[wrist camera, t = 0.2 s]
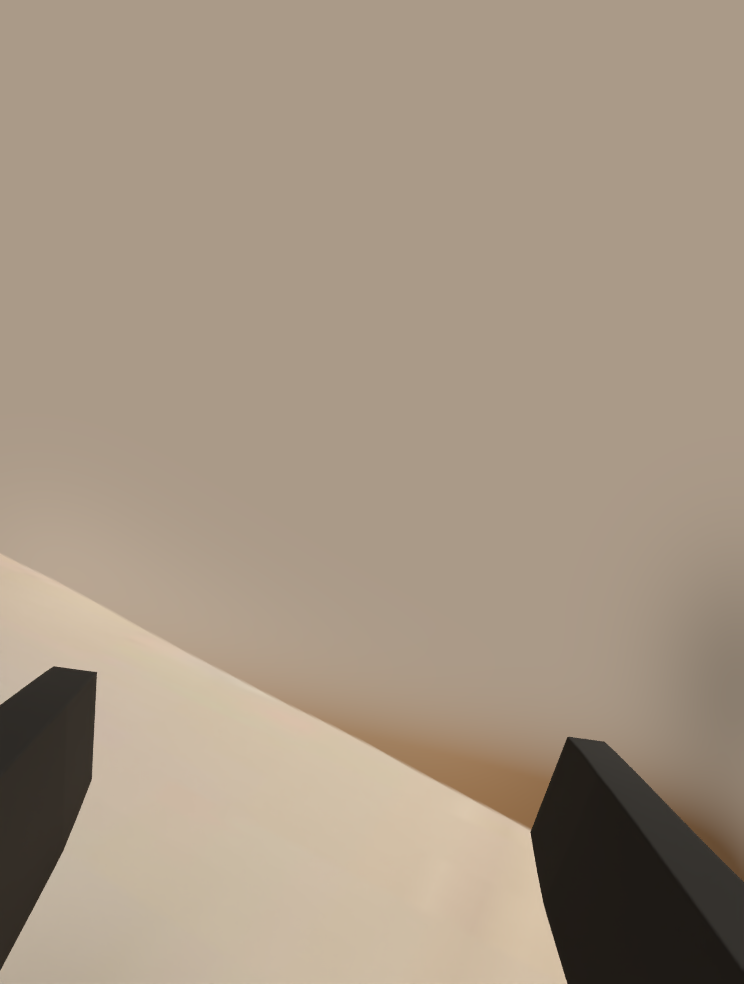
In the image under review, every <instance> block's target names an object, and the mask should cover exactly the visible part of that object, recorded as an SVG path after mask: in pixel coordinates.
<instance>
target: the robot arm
mask: <svg viewBox="0 0 744 984" xmlns="http://www.w3.org/2000/svg"><path fill="white" fill-rule="evenodd" d="M96 679H97V672H91V671H83V670H76V669H69V668H61V667H52V668H51V669H49V670H48V671H46V672H45V673H43V674H42V675H41V676H39V677H38V678H36V679H35V680H34V681H32V682H31V683H29V684H28V685H27V686H25V687H24V688H23V689H21V690H20V691H19V692H17V693H16V694H15V695H13V696H12V697H11V698H9V699H8V700H7V701H5V702H4V703H3V704H1V705H0V970H1V968H2V966H3V964H4V962H5V961H6V959H7V957H8V955H9V953H10V951H11V949H12V947H13V946H14V944H15V942H16V940H17V938H18V936H19V934H20V932H21V930H22V929H23V927H24V925H25V923H26V921H27V919H28V917H29V915H30V913H31V912H32V910H33V908H34V906H35V904H36V902H37V900H38V898H39V896H40V894H41V893H42V891H43V889H44V887H45V885H46V883H47V881H48V879H49V877H50V875H51V873H52V872H53V870H54V868H55V866H56V864H57V862H58V860H59V858H60V856H61V854H62V852H63V850H64V847H65V845H66V842H67V840H68V838H69V835H70V833H71V830H72V828H73V825H74V823H75V821H76V818H77V816H78V813H79V811H80V808H81V805H82V803H83V800H84V798H85V795H86V793H87V790H88V788H89V785H90V782H91V780H92V761H93V740H94V720H95V700H96ZM531 838H532V844H533V850H534V856H535V862H536V867H537V873H538V878H539V883H540V888H541V893H542V898H543V903H544V907H545V910H546V914H547V917H548V921H549V924H550V927H551V931H552V934H553V937H554V941H555V944H556V947H557V951H558V954H559V957H560V961H561V964H562V967H563V971H564V974H565V977H566V980H567V984H744V882H743V881H742V880H741V879H740V878H739V877H738V876H737V875H736V874H735V873H734V872H733V871H732V870H731V869H730V868H729V867H728V866H727V865H726V864H725V863H724V862H723V861H722V860H721V859H720V858H719V857H718V856H717V855H716V854H715V853H714V852H713V851H712V850H711V849H710V848H709V847H708V846H707V845H706V844H705V843H704V842H703V841H702V840H701V839H700V838H699V837H698V836H697V835H696V834H695V833H694V832H693V831H692V830H691V829H690V828H689V827H688V826H687V825H686V824H685V823H684V822H683V821H682V820H681V819H680V817H679V816H678V815H677V814H676V813H675V812H673V810H672V809H671V808H670V807H669V806H668V805H667V804H666V803H665V802H664V801H663V800H662V799H661V798H660V797H659V796H658V795H657V794H656V793H655V792H654V791H653V790H652V788H651V787H649V785H648V784H647V783H646V782H645V781H644V780H643V779H642V778H641V777H640V776H639V775H638V774H637V773H636V772H635V771H634V770H633V769H632V768H631V767H630V766H629V765H628V764H627V763H626V762H625V761H624V760H623V759H622V758H621V757H620V756H619V755H618V754H617V753H616V752H615V751H614V750H613V749H612V748H611V747H609V746H608V745H607V744H606V743H605V742H602V741H595V740H588V739H580V738H573V737H567V740H566V743H565V745H564V747H563V750H562V753H561V755H560V758H559V760H558V763H557V765H556V768H555V771H554V773H553V776H552V778H551V781H550V783H549V786H548V789H547V791H546V794H545V796H544V799H543V801H542V804H541V807H540V809H539V812H538V814H537V817H536V819H535V822H534V825H533V827H532V830H531Z"/></svg>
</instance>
